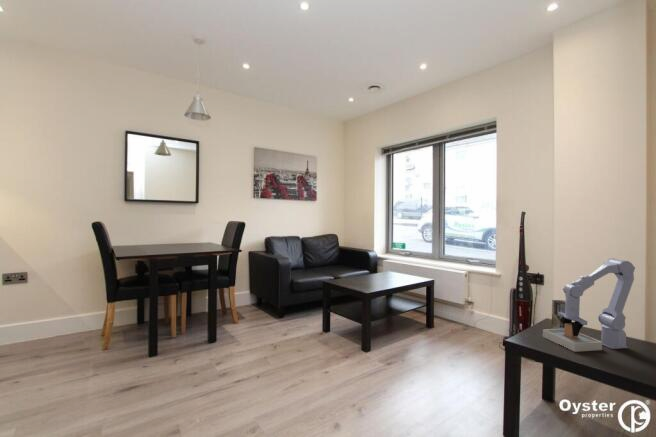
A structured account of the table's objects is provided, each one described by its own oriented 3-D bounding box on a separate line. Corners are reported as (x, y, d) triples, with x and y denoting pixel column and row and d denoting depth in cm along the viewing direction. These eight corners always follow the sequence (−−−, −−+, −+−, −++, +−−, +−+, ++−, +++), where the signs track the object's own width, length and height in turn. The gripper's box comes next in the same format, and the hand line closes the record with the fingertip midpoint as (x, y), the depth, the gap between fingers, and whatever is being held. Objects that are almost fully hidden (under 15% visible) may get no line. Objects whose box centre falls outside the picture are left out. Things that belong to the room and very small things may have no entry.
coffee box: (572, 333, 173) (573, 304, 173) (559, 332, 175) (560, 303, 174) (563, 327, 182) (564, 300, 182) (551, 326, 184) (551, 299, 183)
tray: (568, 335, 170) (568, 328, 170) (602, 349, 152) (602, 341, 152) (542, 336, 167) (543, 329, 167) (574, 351, 150) (574, 343, 149)
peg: (570, 338, 162) (571, 322, 162) (578, 341, 158) (578, 325, 158) (564, 338, 161) (564, 323, 161) (571, 341, 157) (571, 325, 157)
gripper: (553, 303, 166) (552, 329, 166) (579, 312, 152) (578, 340, 152) (564, 303, 167) (563, 328, 167) (591, 312, 153) (590, 339, 153)
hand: (571, 334), depth 160 cm, fingers closed on peg, 4 cm apart
